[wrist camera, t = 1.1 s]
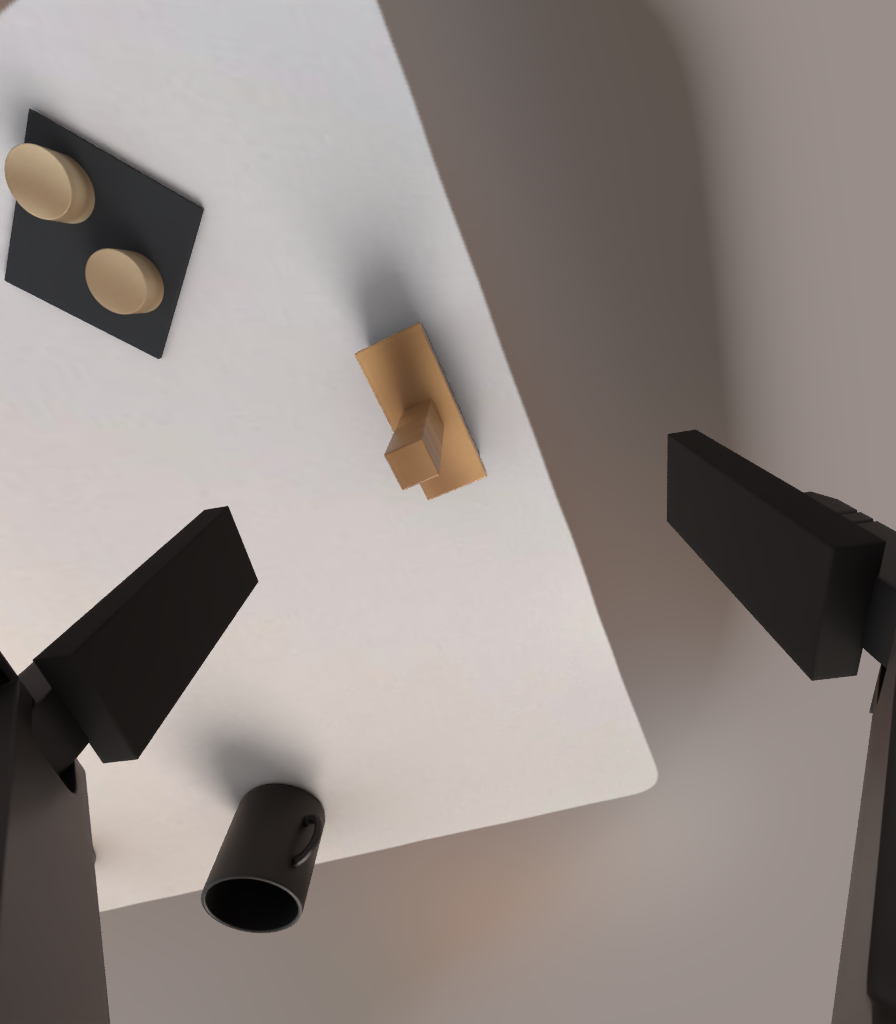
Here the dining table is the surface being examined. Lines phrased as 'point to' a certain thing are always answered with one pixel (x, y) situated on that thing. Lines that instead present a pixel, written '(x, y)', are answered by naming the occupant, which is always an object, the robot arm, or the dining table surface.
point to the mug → (265, 860)
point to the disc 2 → (124, 281)
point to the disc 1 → (49, 184)
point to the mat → (104, 239)
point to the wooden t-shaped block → (420, 414)
